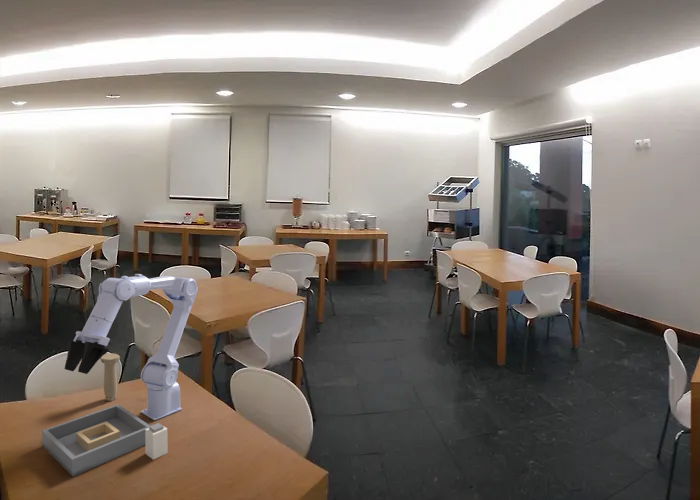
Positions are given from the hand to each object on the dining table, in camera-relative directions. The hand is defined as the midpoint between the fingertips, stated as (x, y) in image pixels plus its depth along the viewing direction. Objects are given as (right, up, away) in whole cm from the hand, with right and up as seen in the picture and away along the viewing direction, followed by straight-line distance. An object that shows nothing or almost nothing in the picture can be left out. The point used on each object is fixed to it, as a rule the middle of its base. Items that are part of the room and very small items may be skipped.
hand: (75, 371), depth 106 cm
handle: (-12, -20, +36) cm, 43 cm away
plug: (+17, -24, +8) cm, 31 cm away
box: (-1, -23, +11) cm, 26 cm away
